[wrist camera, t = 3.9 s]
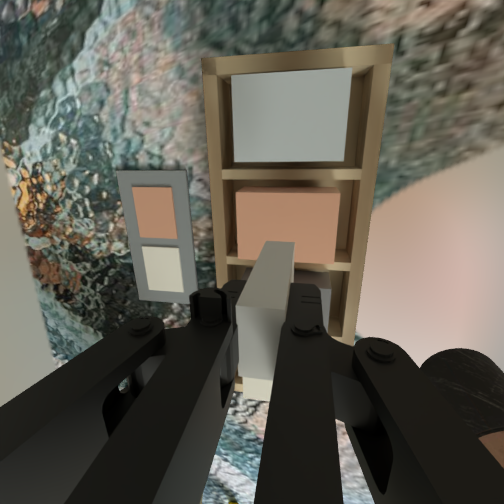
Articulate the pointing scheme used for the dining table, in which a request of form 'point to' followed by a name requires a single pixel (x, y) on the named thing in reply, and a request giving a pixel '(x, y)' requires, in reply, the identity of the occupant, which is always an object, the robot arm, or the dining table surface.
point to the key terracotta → (288, 221)
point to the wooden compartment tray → (302, 167)
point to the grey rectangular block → (311, 278)
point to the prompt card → (159, 233)
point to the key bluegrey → (291, 115)
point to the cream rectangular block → (257, 389)
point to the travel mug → (472, 393)
